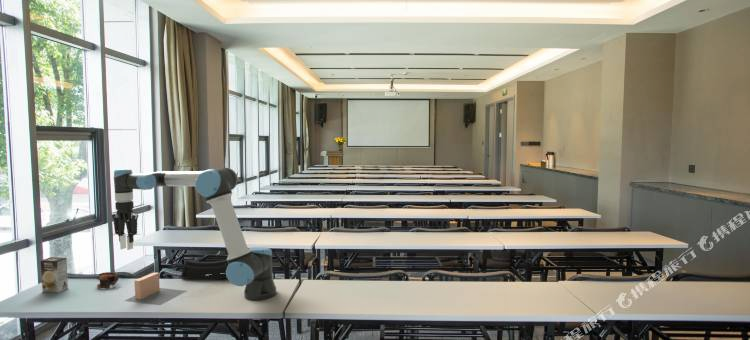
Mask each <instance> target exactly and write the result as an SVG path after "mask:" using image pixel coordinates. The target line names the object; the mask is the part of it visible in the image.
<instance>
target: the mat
mask: <svg viewBox="0 0 750 340" xmlns="http://www.w3.org/2000/svg"><path fill="white" fill-rule="evenodd" d="M186 292H187V290H183V289H182V290H181V289H173V288H165V287H164V288H163V287H160V291H158V292H156V293H154V294H151V295H149V296H147V297H145V298H143V299H141V300H139V299H135V295H133V296H132V297H129V298H128V299H125V300H124V302H130V303H131V302H132V303H137V304H138V303H140V304H146V305H154V306H161V305H163V304H165V303H167V302H169V301H171V300H172V299H175V298H177V297H178V296H180V295H183V294H184V293H186Z"/></svg>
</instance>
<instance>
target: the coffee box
mask: <svg viewBox="0 0 750 340" xmlns="http://www.w3.org/2000/svg"><path fill="white" fill-rule="evenodd" d="M67 260H68V259H67V257H59V256H58V257H57V256H54V257H53V256H50V257H48V258H45V259H41V260H40V271H41V273H40V275H41V289H42V290H41V291H42V293H58V294H59V293H61V292H63V291H65V290H67V289H69V279H68V277H69V276H68V263H67V262H68V261H67Z"/></svg>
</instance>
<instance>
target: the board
mask: <svg viewBox="0 0 750 340" xmlns="http://www.w3.org/2000/svg"><path fill="white" fill-rule="evenodd" d="M133 283H134V296H135V299H139V300H141V299H143V298H145V297H147V296H149V295H151V294H154V293H156V292H158V291H160V288H161V287H160V273H159V272H152V273H149V274H147V275H144V276H142V277H140V278H136V279H135V280H134V281H133Z"/></svg>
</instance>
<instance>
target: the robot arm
mask: <svg viewBox="0 0 750 340" xmlns="http://www.w3.org/2000/svg"><path fill="white" fill-rule="evenodd" d="M238 181H239V177H238V174H237V173H236V172H235V171H234V170H233V169H232V168H230V167H218V168H210V169H209V168H208V169H206V170H199V171H197V170H193V171H190V170H185V171H183V170H179V171H178V170H177V171H175V170H173V171H172V170H171V171H170V170H159V171H153V172H152V171H151V172H144V173H143V172H141V173H133V170H132V169H130V168H118V169H115V170H114V171H113V184H114V201H115V210H116V212H115V213H113V214H111V217H112V220H113V228H114V234H115V235H118V241H119V244H120V245H119V246H120V250H124V249H126V248H127V249H126V250H128V251H129V250H133V249H134V240H135V239H134V236H135V235H137V234H138V219H139V214H137V213H136V214H135V213H134V211H133V209H134V207H135V206H134V201H133V200H134V190H142V191H146V190H152V189H154V188H159V187H195V190H196V192H197V193H198V194H199V195H201V196H202V197H204V198H205V201H206V204H210V205H211V208H212V211H213V214H214V217H215V219H216V223H217V225H218V226H217V227H218V228H219V230H220V231H219V232H220V234H221V237H222V240H223V242H224V246H225V248H226V251H227V254H228V255H227V258H226V260H227V263H228V267H227V270H226V276H227V278H226V279H227V280H228V282H230V284H233V285H234V286H236V287H244V286H245V288H244V291H243V294H244V298H246V300H250V301H262V300H263V301H264V300H268V299H270V298H273V297H275V296H276V295H277V287H276V284H275V282H274V278H273V254H272V249H271V248H269V247H266V246H265V247H264V246H254V247H249V248H248V244H247V243H246V240H245V237H244V233H243V231H242V228H241V224H240V223H239V219H238V216H237V213H236V211H235V208H234V206H233V201H232V200H231V197H232V195H233V190H234V189H235V188H236V187H237V184H238ZM125 226H126V227H125ZM125 228H126V232H127V235H126V233H125Z"/></svg>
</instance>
